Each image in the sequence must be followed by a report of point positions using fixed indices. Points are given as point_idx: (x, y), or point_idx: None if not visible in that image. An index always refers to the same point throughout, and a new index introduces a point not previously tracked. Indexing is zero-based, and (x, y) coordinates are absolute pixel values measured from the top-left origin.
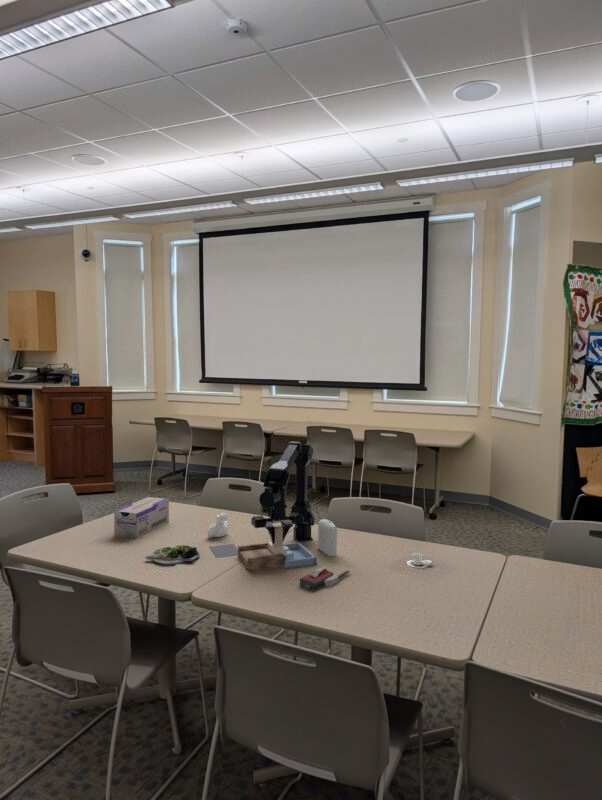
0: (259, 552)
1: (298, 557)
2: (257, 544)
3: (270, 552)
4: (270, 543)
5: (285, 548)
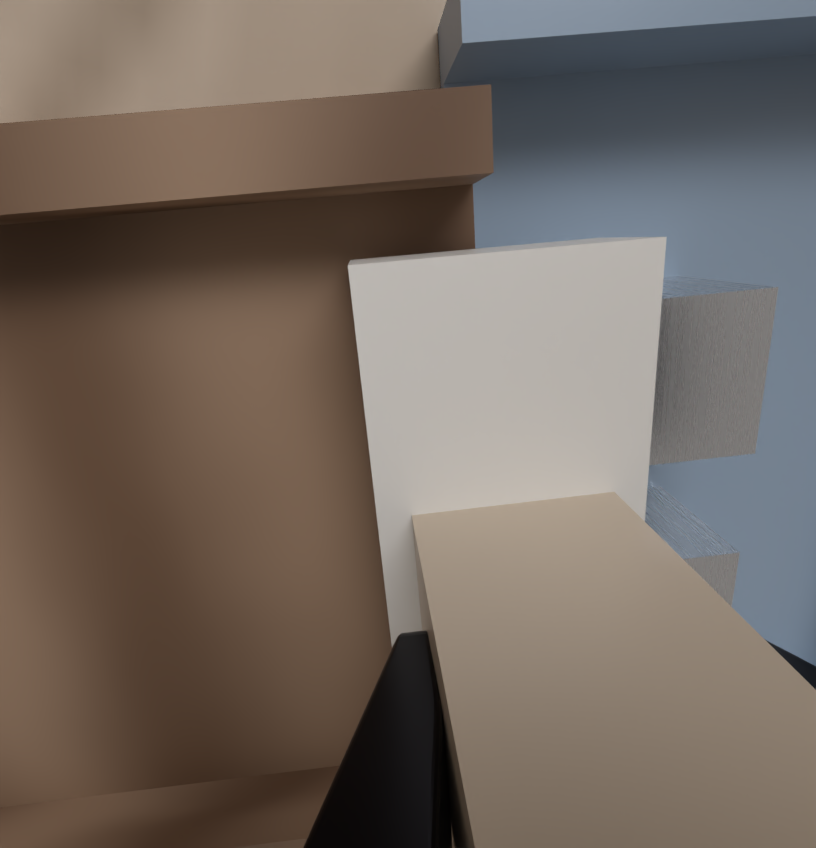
0: (135, 471)
1: (777, 473)
2: (40, 189)
3: (355, 517)
4: (398, 385)
5: (695, 429)
